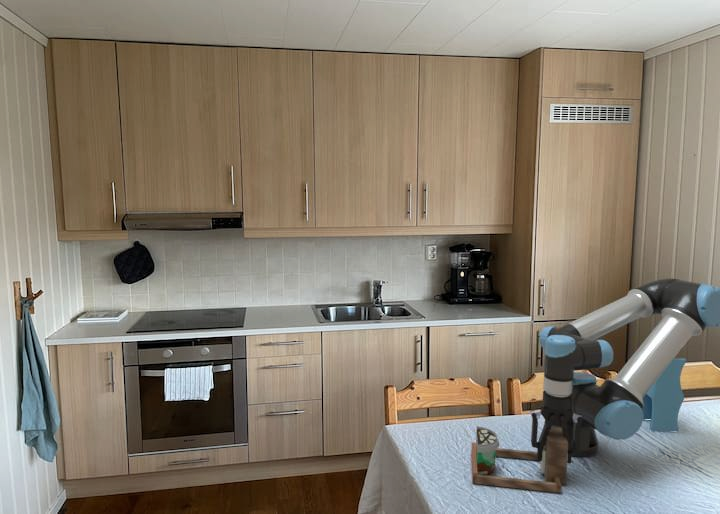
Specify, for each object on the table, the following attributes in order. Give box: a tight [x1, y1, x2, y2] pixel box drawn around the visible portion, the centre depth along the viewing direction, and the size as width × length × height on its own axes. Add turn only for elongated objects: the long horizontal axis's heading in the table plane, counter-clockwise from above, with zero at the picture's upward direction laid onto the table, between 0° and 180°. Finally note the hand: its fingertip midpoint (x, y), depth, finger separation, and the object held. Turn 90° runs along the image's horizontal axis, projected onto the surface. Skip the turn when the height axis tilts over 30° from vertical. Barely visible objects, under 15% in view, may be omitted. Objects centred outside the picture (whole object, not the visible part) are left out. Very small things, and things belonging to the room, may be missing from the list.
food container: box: [475, 425, 500, 476], centre depth 146 cm, size 12×6×10 cm, turn 169°
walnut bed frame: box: [470, 425, 568, 494], centre depth 144 cm, size 25×17×12 cm
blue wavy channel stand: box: [642, 357, 687, 432], centre depth 174 cm, size 10×10×25 cm
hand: (553, 471), depth 143 cm, fingers closed on walnut bed frame, 5 cm apart
